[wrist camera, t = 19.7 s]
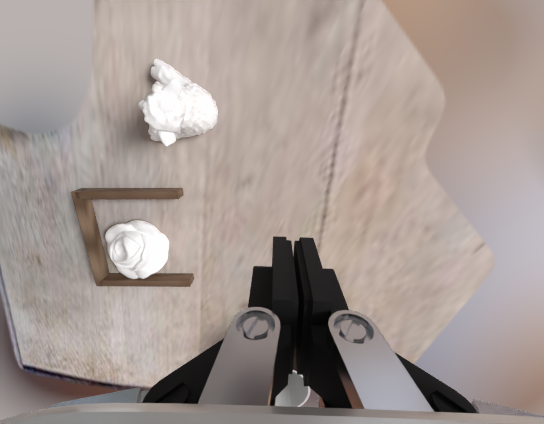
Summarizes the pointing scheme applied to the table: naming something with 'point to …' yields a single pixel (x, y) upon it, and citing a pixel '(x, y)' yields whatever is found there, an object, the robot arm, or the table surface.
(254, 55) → the table surface
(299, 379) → the coffee mug
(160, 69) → the seated beast figurine
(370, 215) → the table surface
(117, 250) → the rose
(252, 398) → the robot arm
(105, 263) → the walnut bay
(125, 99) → the table surface
